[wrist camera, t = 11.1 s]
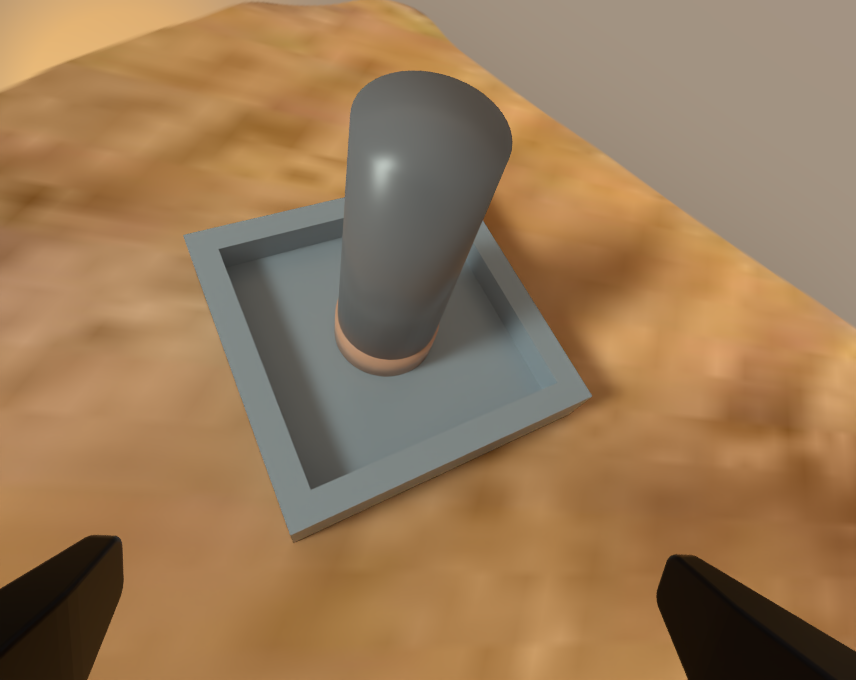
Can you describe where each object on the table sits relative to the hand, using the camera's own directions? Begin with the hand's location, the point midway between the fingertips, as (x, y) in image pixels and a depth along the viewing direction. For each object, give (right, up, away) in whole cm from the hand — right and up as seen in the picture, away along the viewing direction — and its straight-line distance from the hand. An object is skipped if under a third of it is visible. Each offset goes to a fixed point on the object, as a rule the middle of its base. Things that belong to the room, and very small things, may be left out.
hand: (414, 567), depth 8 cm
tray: (-2, +4, +17) cm, 17 cm away
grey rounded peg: (-2, +4, +16) cm, 17 cm away
